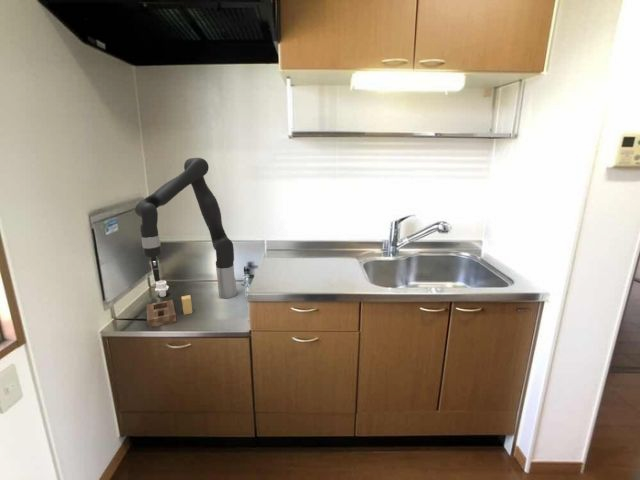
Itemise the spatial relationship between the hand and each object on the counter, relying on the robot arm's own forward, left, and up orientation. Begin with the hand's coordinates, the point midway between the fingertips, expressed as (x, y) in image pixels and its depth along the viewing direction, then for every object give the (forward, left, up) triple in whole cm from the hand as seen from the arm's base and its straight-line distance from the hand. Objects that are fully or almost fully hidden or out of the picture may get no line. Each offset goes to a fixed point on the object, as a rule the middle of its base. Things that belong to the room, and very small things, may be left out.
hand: (156, 278), depth 165 cm
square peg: (-12, +1, -20) cm, 23 cm away
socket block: (0, +1, -20) cm, 20 cm away
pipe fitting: (-2, -26, -20) cm, 33 cm away
